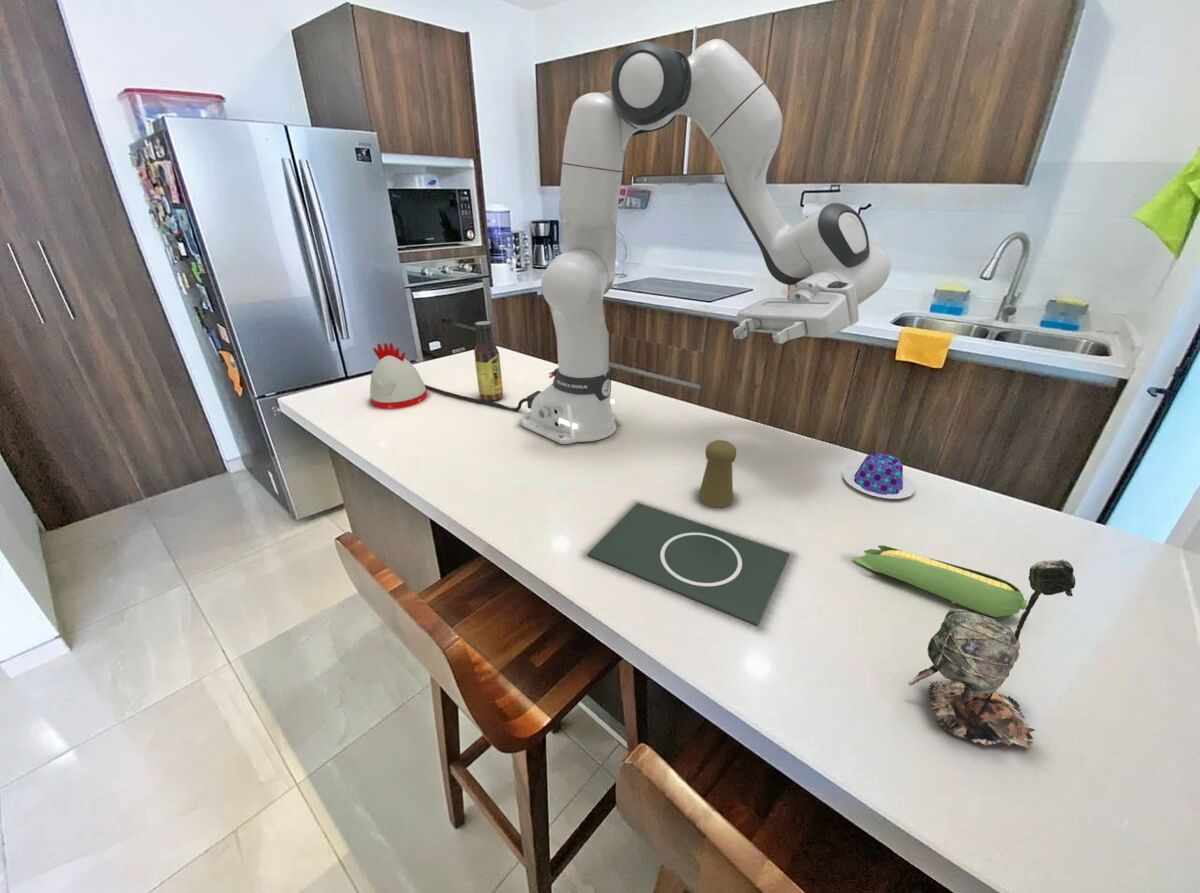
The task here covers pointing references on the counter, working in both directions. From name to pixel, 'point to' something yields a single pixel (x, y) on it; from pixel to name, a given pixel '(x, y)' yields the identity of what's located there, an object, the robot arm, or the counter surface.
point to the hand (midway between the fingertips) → (755, 337)
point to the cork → (718, 474)
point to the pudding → (880, 477)
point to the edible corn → (947, 581)
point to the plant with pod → (985, 666)
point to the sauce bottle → (487, 363)
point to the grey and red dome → (395, 380)
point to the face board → (694, 560)
